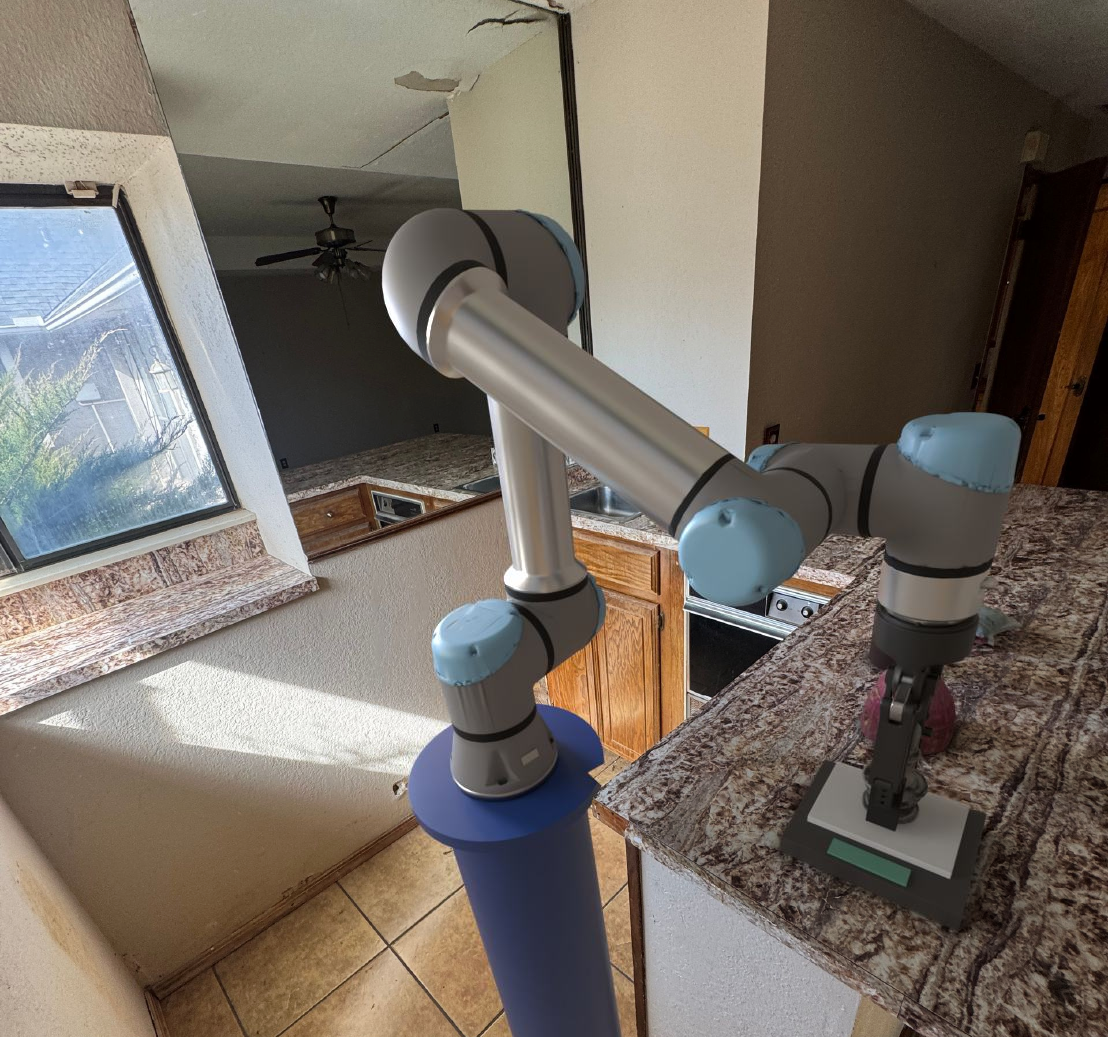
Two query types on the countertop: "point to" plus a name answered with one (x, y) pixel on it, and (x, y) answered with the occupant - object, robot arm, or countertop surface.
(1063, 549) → the countertop surface
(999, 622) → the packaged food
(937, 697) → the vegetable
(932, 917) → the scale
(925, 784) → the chess piece
